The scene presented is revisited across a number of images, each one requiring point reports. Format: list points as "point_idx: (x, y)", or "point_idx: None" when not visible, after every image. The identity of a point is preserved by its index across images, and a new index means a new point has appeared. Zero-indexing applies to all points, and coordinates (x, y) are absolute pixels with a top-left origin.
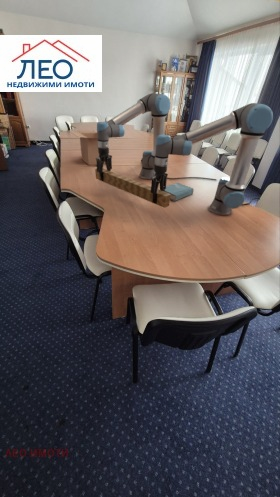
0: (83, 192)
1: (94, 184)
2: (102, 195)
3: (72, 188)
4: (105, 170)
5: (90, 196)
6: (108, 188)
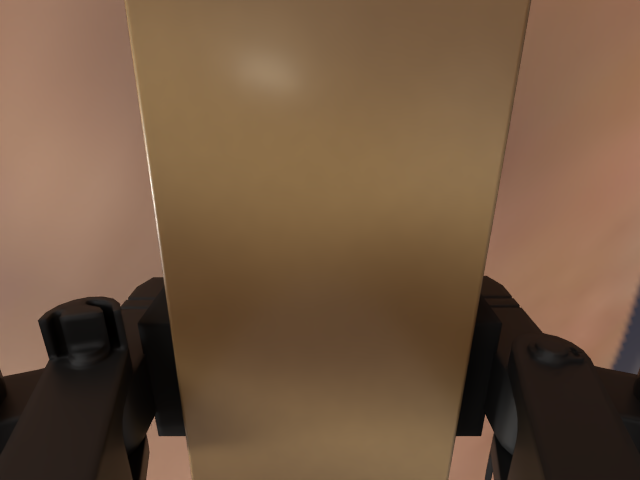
0: (564, 325)
1: None
2: None
3: None
4: (277, 402)
5: (614, 172)
6: None
